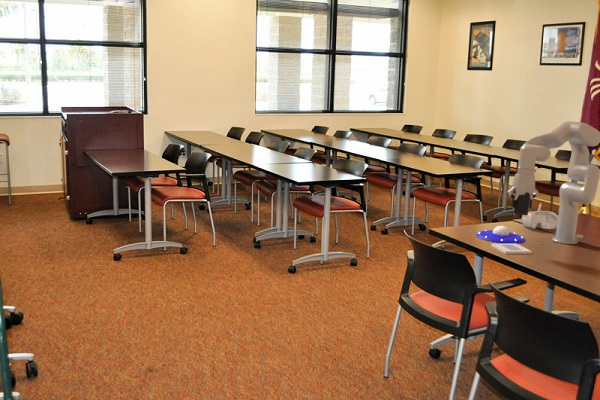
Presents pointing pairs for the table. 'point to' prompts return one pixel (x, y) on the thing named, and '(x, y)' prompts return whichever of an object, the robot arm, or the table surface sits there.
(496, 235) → the toy spaceship
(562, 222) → the robot arm
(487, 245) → the table surface
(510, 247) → the plate
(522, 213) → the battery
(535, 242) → the table surface
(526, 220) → the vr headset
